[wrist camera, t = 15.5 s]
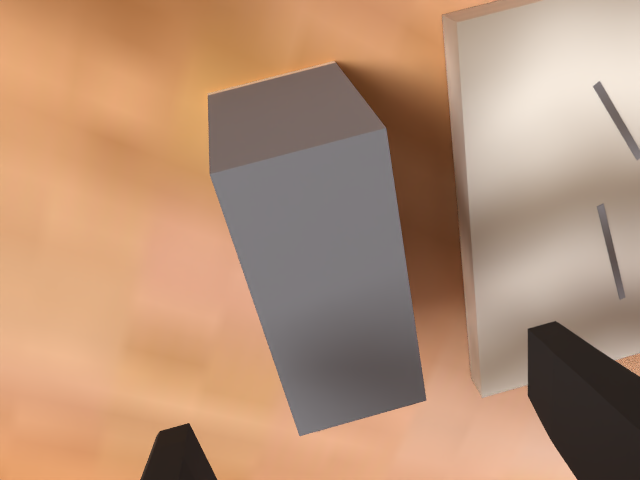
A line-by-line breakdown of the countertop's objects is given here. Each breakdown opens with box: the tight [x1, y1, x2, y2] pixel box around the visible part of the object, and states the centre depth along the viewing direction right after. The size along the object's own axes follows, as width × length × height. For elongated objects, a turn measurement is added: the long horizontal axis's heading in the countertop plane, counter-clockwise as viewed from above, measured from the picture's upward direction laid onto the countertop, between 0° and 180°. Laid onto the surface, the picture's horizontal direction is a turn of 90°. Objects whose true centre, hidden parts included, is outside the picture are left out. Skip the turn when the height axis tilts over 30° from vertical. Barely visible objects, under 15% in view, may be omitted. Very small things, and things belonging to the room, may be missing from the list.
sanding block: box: [208, 61, 426, 436], centre depth 18 cm, size 9×4×6 cm, turn 12°
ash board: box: [442, 0, 640, 398], centre depth 21 cm, size 16×13×1 cm
